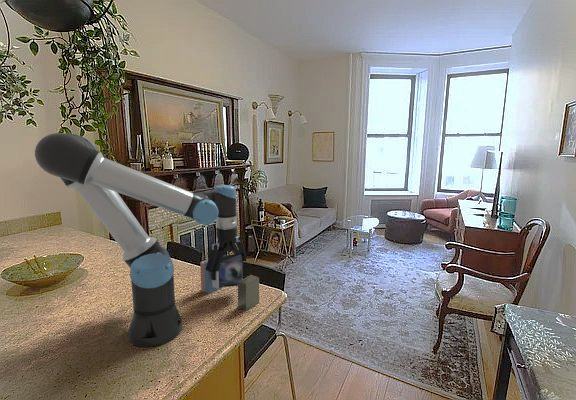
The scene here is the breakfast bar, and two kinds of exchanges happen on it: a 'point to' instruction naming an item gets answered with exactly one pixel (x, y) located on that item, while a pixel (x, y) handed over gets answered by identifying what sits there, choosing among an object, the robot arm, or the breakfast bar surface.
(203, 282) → the standing books
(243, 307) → the bookend
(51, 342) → the breakfast bar surface
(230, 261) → the small box
